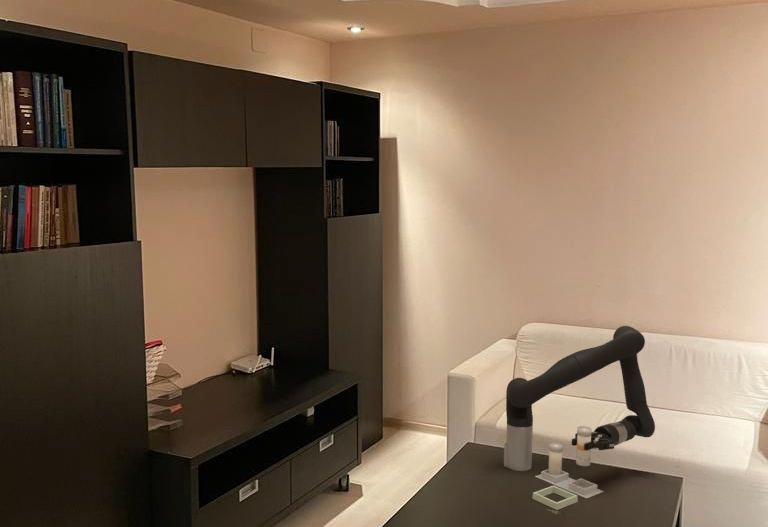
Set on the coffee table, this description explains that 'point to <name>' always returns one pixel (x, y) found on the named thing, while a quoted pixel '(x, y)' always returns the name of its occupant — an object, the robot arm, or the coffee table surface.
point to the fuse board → (571, 484)
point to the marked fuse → (583, 438)
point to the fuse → (555, 458)
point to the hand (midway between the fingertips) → (578, 444)
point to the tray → (555, 505)
